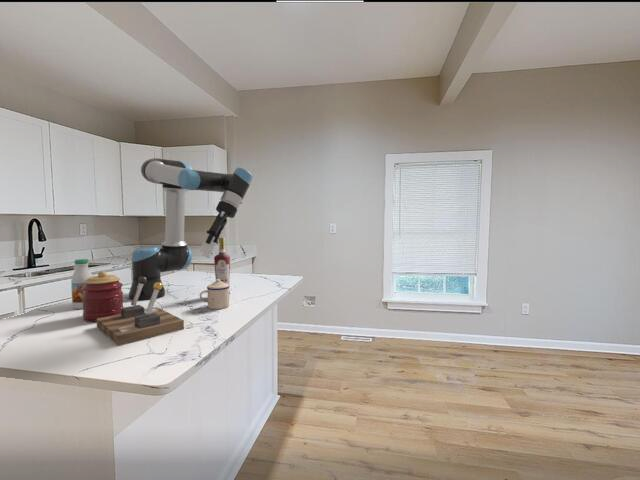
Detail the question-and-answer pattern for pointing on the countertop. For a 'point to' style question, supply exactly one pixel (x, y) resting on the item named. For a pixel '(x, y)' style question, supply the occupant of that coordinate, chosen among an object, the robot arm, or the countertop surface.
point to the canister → (102, 297)
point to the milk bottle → (79, 282)
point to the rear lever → (138, 289)
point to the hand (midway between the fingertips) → (204, 254)
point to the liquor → (222, 263)
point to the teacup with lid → (217, 295)
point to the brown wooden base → (138, 324)
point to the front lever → (154, 296)
